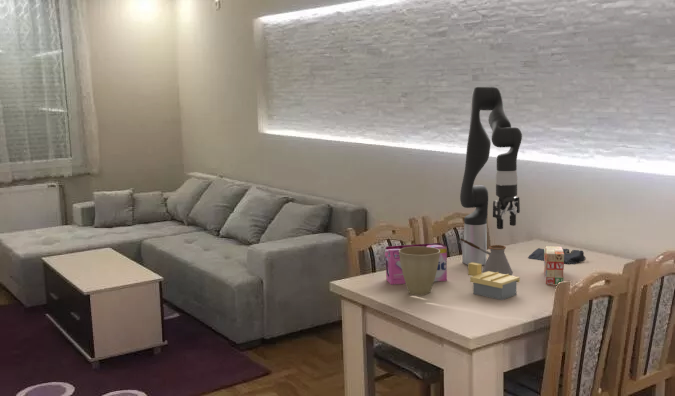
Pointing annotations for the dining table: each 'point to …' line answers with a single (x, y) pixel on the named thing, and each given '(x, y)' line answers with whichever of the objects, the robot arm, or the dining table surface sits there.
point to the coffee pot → (494, 259)
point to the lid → (489, 276)
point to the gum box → (394, 264)
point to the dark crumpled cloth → (569, 257)
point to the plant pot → (419, 268)
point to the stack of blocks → (553, 264)
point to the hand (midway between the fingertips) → (506, 227)
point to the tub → (496, 290)
